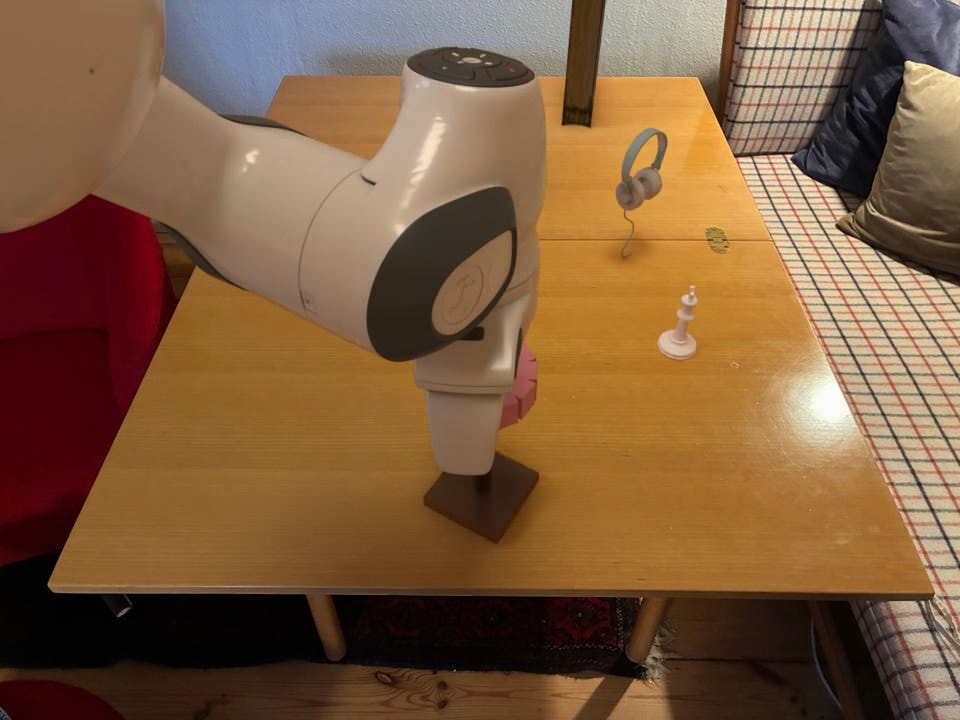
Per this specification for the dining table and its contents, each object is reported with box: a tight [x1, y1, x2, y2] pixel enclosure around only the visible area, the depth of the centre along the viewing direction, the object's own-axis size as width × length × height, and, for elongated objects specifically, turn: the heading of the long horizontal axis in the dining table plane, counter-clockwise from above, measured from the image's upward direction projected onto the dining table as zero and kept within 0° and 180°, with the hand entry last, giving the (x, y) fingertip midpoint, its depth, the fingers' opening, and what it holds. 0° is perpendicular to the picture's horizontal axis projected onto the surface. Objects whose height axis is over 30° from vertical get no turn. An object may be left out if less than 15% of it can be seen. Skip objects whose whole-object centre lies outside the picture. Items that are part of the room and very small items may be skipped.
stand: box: [422, 451, 540, 545], centre depth 70 cm, size 9×9×14 cm
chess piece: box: [656, 285, 699, 361], centre depth 86 cm, size 5×5×10 cm
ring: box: [499, 342, 539, 431], centre depth 61 cm, size 10×10×3 cm
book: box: [561, 0, 607, 128], centre depth 126 cm, size 16×6×25 cm, turn 171°
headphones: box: [615, 127, 669, 259], centre depth 95 cm, size 8×4×20 cm, turn 134°
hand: (477, 412), depth 59 cm, fingers closed on ring, 2 cm apart
